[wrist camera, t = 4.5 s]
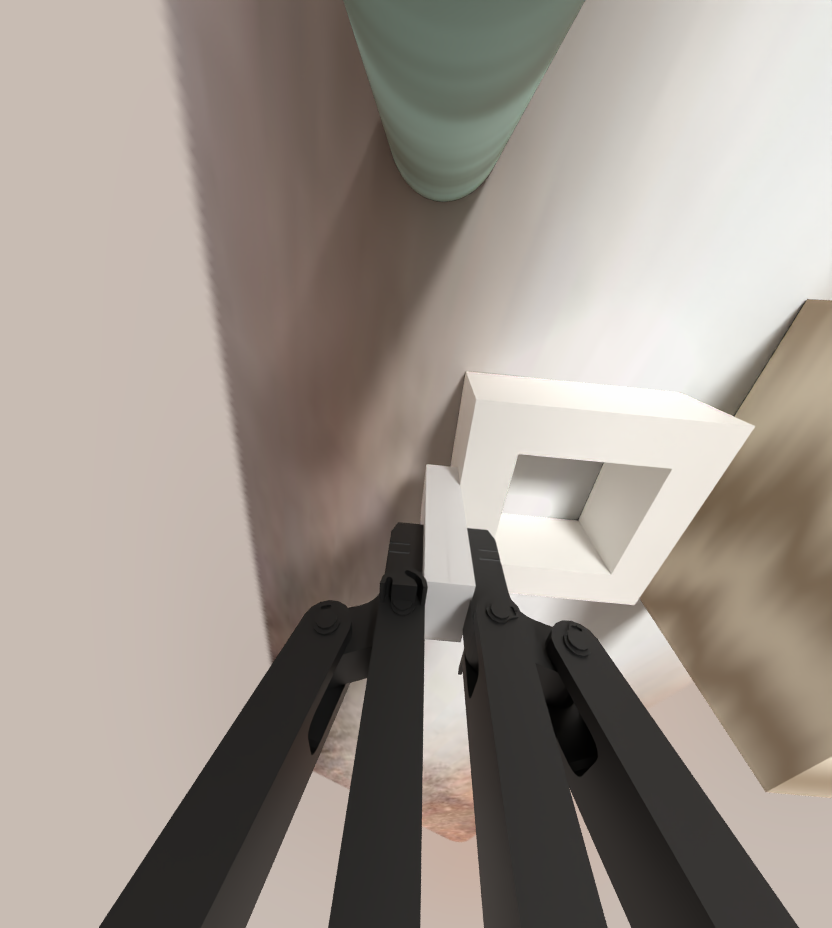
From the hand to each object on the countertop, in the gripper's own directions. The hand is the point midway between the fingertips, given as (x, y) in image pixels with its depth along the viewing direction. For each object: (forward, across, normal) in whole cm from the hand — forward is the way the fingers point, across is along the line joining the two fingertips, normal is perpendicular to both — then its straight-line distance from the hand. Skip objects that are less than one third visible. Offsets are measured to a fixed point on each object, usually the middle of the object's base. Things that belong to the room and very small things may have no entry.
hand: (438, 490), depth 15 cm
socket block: (+3, +6, 0) cm, 6 cm away
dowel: (+3, -1, +13) cm, 13 cm away
